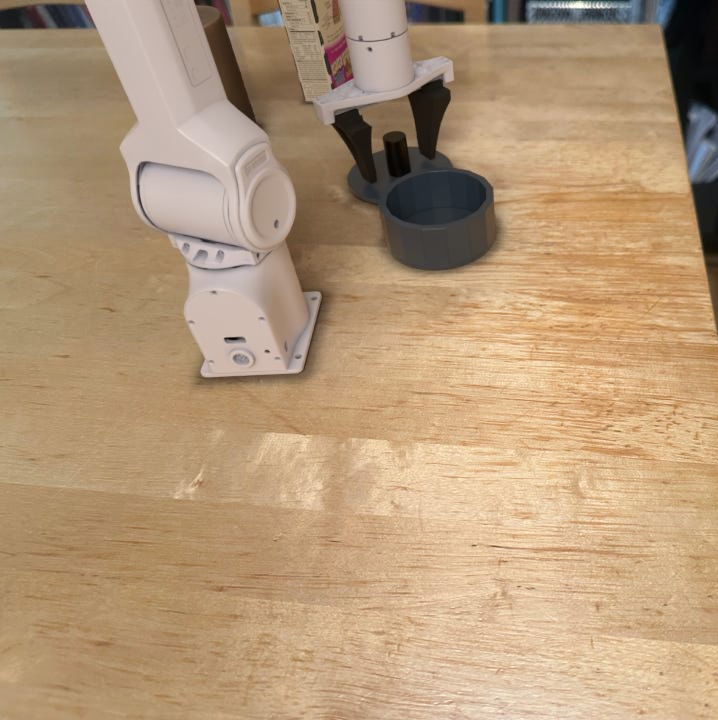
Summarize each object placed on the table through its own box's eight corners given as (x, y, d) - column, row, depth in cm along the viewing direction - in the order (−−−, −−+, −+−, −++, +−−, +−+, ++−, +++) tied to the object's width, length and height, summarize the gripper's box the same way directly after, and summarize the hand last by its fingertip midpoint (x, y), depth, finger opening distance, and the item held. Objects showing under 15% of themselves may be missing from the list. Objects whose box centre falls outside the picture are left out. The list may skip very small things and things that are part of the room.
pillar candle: (276, 131, 80) (237, -2, 70) (214, 167, 75) (161, 28, 64) (224, 116, 84) (178, -13, 74) (161, 148, 79) (103, 15, 68)
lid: (452, 206, 66) (447, 160, 62) (342, 212, 66) (330, 167, 63) (454, 152, 74) (450, 108, 70) (356, 158, 74) (347, 114, 70)
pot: (496, 267, 58) (494, 225, 55) (381, 273, 59) (372, 232, 56) (494, 204, 66) (492, 164, 62) (392, 210, 66) (384, 170, 63)
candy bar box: (332, 69, 93) (302, -65, 81) (365, 70, 92) (340, -66, 81) (301, 103, 85) (264, -39, 74) (337, 104, 85) (305, -40, 73)
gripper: (420, 1, 64) (435, 132, 74) (285, 40, 59) (320, 176, 68) (461, 18, 60) (471, 154, 70) (319, 62, 55) (352, 203, 64)
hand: (399, 167), depth 69 cm, fingers open, 7 cm apart
